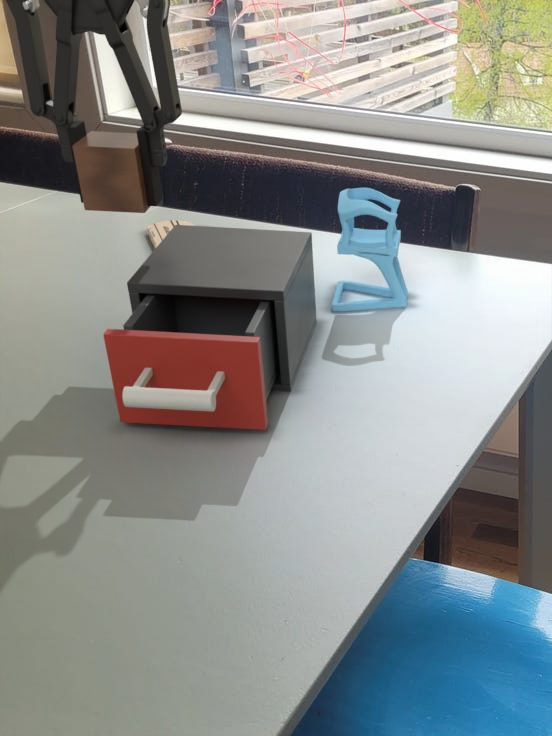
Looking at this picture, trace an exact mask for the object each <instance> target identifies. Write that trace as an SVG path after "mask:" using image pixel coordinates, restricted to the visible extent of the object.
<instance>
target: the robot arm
mask: <svg viewBox="0 0 552 736" xmlns="http://www.w3.org/2000/svg"><path fill="white" fill-rule="evenodd" d="M43 1H44V2H45V4H46V5H47V7H48V8H49V10H51V12H52V13H53V14H54V15H55V16H56V23H55V24H56V25H55V40H56V55H55V69H54V82H53V83H54V85H53V95H52V88H51V83H50V75H49V70H48V69H49V68H48V63H47V57H46V52H45V45H44V44H45V43H44V39H43V31H42V26H41V22H40V21H41V20H40V17H39V14H38V10H40V7H41V6H40V0H5V2H6V4H7V6H8V8H9V10H10V12H11V14H12V17H13V18H14V21H15V27H16V32H17V40H18V44H19V50H20V57H21V63H22V68H23V72H24V74H23V75H24V79H25V85H26V90H27V91H26V92H27V96H28V101H29V107H30V111H31V113H32V114H33V115H34V116H36V117H38V118H39V117H42V118H44V119H47V120H50V121H51V122H52V123H53V124H54V126H55V128H56V132H57V138H58V143H59V148H60V153H61V156H62V158H63V160H64V162H65V163H73V169H74V173H75V177H76V183H77V188H78V193H79V198H80V203H82V204H84V203H83V198H82V193H81V188H80V183H79V177H78V172H77V167H76V162H75V157H74V152H73V147H72V145H74V144H75V143H76V142H78V141H79V140H80V139H82V138H83V137H84V136H86V135H87V134H88V133H87V129H86V124H85V120H75V119H74V118H75V117H77V115H78V112H76V102H77V101H76V99H77V89H78V88H77V86H78V73H79V61H80V48H81V41H82V38H83V34H85V33H88V32H92V33H94V34H97V35H101V36H102V35H103V36H105V39H106V42H107V43H108V46H109V48H111V49H112V51H113V53H114V55H115V58H116V61H117V63H118V66H119V68H120V70H121V72H122V76H123V78H124V80H125V82H126V85H127V87H128V90H129V92H130V95H131V97H132V100H133V102H134V103H135V106H136V109H137V112H138V114H139V116H140V119H141V122H142V125H141V126H140V127H139V128H137V130H136V132H135V133H137V138H138V145H139V149H140V156H141V162H142V169H143V175H144V182H145V188H146V195H147V201H148V206H150V207H157V206H158V205H159V203H161V201H162V200H163V199H164V195H163V188H162V182H161V181H162V180H161V174H160V169H159V168H163V167H165V165H166V164H167V161H168V151H167V146H166V145H167V144H166V137H165V131H164V130H165V129H164V128H165V126H166V125H169V124H173V123H175V122H176V121H177V120H178V119H179V118H180V117H181V116H182V113H183V110H182V103H181V96H180V91H179V85H178V80H177V74H176V67H175V61H174V56H173V49H172V44H171V38H170V32H169V25H168V23H169V22H168V21H169V15H170V8H171V0H43ZM134 2H137V3H138V6H139V11H140V14H141V16H142V17H143V18H144V19H145V20H146V32H147V39H148V44H149V49H150V55H151V61H152V66H153V67H152V68H153V72H154V79H155V83H156V88H157V95H158V99H159V103H158V100H157V98H156V97H157V96H156V95H155V92H154V90H153V87H152V85H151V82H150V80H149V77H148V75H147V72H146V70H145V67H144V65H143V62H142V60H141V57H140V55H139V52H138V49H137V47H136V44H135V41H134V36H133V32H132V30H131V28H130V25H129V23H128V20H127V17H128V14H129V13H130V10H131V8H132V6H133V4H134Z"/></svg>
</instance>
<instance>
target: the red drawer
mask: <svg viewBox="0 0 552 736" xmlns="http://www.w3.org/2000/svg"><path fill="white" fill-rule="evenodd" d="M274 301H275V300H257V299H239V298H221V297H203V296H185V295H166V294H147V295H146V297H145V298H144V299H143V301H142V302H141V303H140V305H139V306H138V307H137V308H136V310H135V311H134V312H133V314H132V313H131V315H130V316H129V317H128V319H127V320H126V321H125V322H124V324H123V325H122V327H123V329H117V328H107V329H106V330H105V331H104V332H103V341H104V347H105V350H106V356H107V361H108V366H109V371H110V376H111V381H112V386H113V392H114V397H115V401H116V407H117V412H118V417H119V422H120V423H126V424H127V423H130V424H147V425H148V424H149V425H165V426H185V427H186V426H187V427H203V428H204V427H205V428H223V429H243V430H262V431H263V430H264V431H265V430H267V427H268V426H269V417H268V405H267V400H268V399H269V396H270V393H271V391H272V390H271V389H272V386H273V384H274V381H275V379H276V377H277V374H278V372H279V369H280V366H279V354H278V342H277V329H276V317H275V305H274Z"/></svg>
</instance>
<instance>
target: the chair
mask: <svg viewBox="0 0 552 736" xmlns="http://www.w3.org/2000/svg"><path fill="white" fill-rule="evenodd" d="M371 200H373V201H377V202H379V203H381V204H384V205H385V206H387V207H388V208H390V211H388V210H387V209H385V208H383V207H381V206H380V205H378V204H376V203H374V202H373V201H371ZM400 203H401V199H397V198H393V197H391V196H388V195H387V194H384V193H383V192H381V191H378V190H376V189H373V188H371V187H355V188H354V187H353V188H346V189H342V190H341V191H340V192H339V194H338V202H337V213H338V217H339V221H340V225H341V229H342V230H341V235H340V237H339V240H338V242H337V244H336V247H337V252H336V253H337V255H350V256H351V255H354V256H356V257H359V258H363V259H365V260H368V261H370V262H372V263H373V264H374V265H375V266H376V267H377V268H378V269H379V271H380V273H381V274H382V277H383V278H384V280H385V282H386V284H387V286H388V287H386V286H385V287H384V286H379V285H375V284H373V285H372V284H369V283H361V282H355V281H349V280H339V281H338V282H337V284H336V287H335V291H334V294H333V298H332V302H331V310H332V311H333V312H348V311H349V312H350V311H361V310H362V311H363V310H373V309H375V310H376V309H387V308H406V307H408V301H407V299H409V291H408V288H407V285H406V280H405V278H404V275H403V272H402V268H401V264H400V262H399V261H400V260H399V257H398V255H399V248H400V243H401V239H402V238H401V237H402V235H401V234H402V230H401V229H397V225H396V220H397V218H398V215H399V214H398V213H397V212H398V208H399V205H400ZM365 215H367V216H372V217H375V218H378V219H380V220H383V221H384V222H386V223H387V226H386V228H385V229H369V228H368V229H367V228H358V227H355V218H356V217H360V216H365ZM344 290H352V291H356V292H362V293H367V294H372V295H377V296H382V297H386V298H375V299H366V300H356V301H355V300H353V301H345V302H343V301H342V302H340V301H341V299H342V294H343V292H344Z"/></svg>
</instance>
